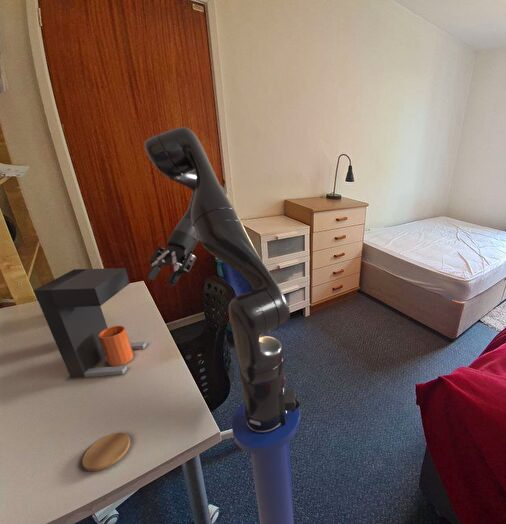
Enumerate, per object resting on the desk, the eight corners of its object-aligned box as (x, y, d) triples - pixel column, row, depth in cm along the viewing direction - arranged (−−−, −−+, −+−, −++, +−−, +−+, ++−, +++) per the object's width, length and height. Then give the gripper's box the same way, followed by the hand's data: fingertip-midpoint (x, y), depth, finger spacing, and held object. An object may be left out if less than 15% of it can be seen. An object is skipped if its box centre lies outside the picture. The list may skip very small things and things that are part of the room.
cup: (137, 352, 87) (129, 324, 84) (126, 365, 82) (117, 337, 78) (116, 353, 86) (107, 326, 83) (103, 367, 81) (93, 338, 77)
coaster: (137, 433, 63) (136, 430, 62) (116, 468, 56) (115, 466, 55) (99, 437, 61) (98, 434, 61) (73, 474, 55) (72, 471, 54)
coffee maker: (146, 344, 91) (125, 268, 81) (123, 374, 79) (94, 288, 69) (101, 347, 88) (74, 269, 79) (70, 378, 77) (33, 290, 67)
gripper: (161, 226, 88) (132, 272, 82) (195, 232, 83) (167, 281, 78) (179, 238, 95) (153, 281, 89) (211, 244, 90) (187, 290, 84)
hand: (160, 281), depth 83 cm, fingers open, 8 cm apart
